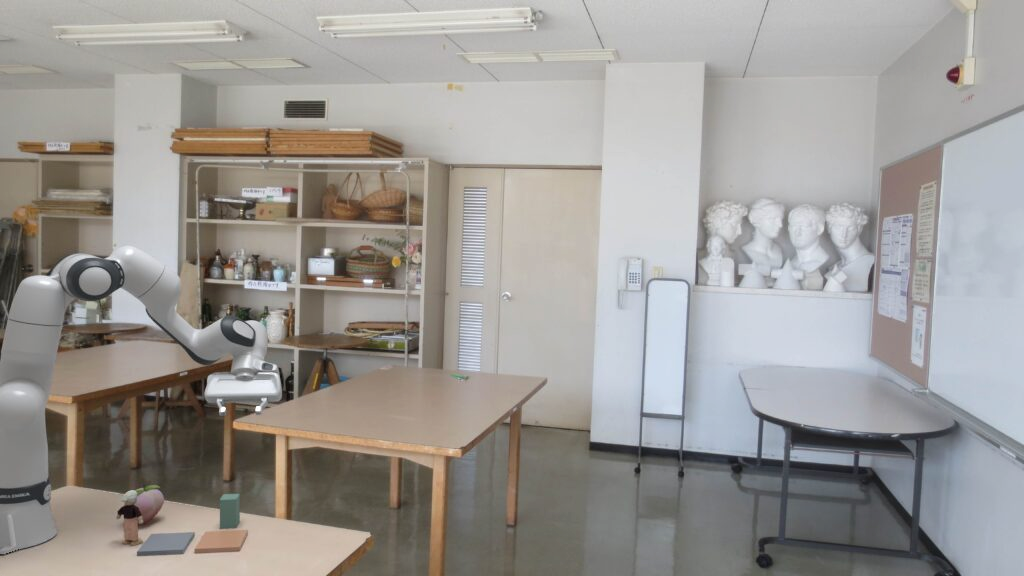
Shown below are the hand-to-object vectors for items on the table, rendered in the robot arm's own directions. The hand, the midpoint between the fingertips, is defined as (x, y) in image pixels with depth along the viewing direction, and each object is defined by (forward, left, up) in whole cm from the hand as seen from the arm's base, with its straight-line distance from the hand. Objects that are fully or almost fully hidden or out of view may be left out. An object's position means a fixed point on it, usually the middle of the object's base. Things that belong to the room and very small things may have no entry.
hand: (240, 414), depth 193 cm
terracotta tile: (0, -24, -26) cm, 35 cm away
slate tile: (-12, -24, -26) cm, 37 cm away
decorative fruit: (-22, -9, -26) cm, 35 cm away
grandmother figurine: (-21, -21, -26) cm, 39 cm away
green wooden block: (0, -13, -26) cm, 29 cm away
